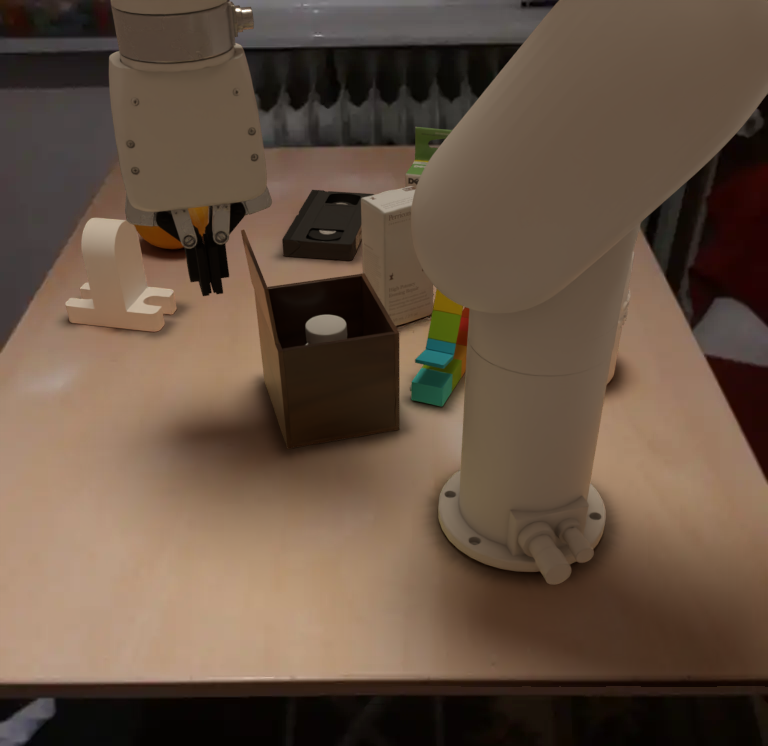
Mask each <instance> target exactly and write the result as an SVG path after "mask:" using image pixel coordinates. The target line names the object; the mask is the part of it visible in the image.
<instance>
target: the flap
mask: <svg viewBox="0 0 768 746" xmlns="http://www.w3.org/2000/svg"><path fill="white" fill-rule="evenodd" d="M240 234H241V238H242V244H243V247H244V248H243V249H244V252H245V256H246V263H247V267H248V271H249V272H248V273H249V277H250V281H251V284H252V285H251V286H252V287H253V291H254V290H255V292H254V294H255V293H256V295H257V298H258V301H259V303H260V306H261V309H262V311H263V314H264V316H265V319H266V322H267V324H268V327H269V330H270V332H271V335H272V338H273V340H274V343H275V345H276V344H279V342H278V337H277V332H276V327H275V322H274V317H273V311H272V306H271V301H270V296H269V291H268V287H269V286H268V285H267V283H266V280H265V278H264V275H263V273H262V270H261V268H260V265H259V263H258V259H257V257H256V255H255V253H254V249H253V248H252V245H251V243H250V240H249V237H248V236H247V233H246V231H245V229H241V230H240Z"/></svg>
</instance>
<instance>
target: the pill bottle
mask: <svg viewBox="0 0 768 746" xmlns="http://www.w3.org/2000/svg"><path fill="white" fill-rule="evenodd" d="M305 329H306V340H307V344H306V345H309V344H316V343H322V342H329V341H335V340H342V339H347V325H346V322H345V320H344V319H342V318H341V317H338V316H335V315H319V316H315V317H313V318H311V319H310V320H308V321H307V323H306V326H305Z"/></svg>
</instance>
